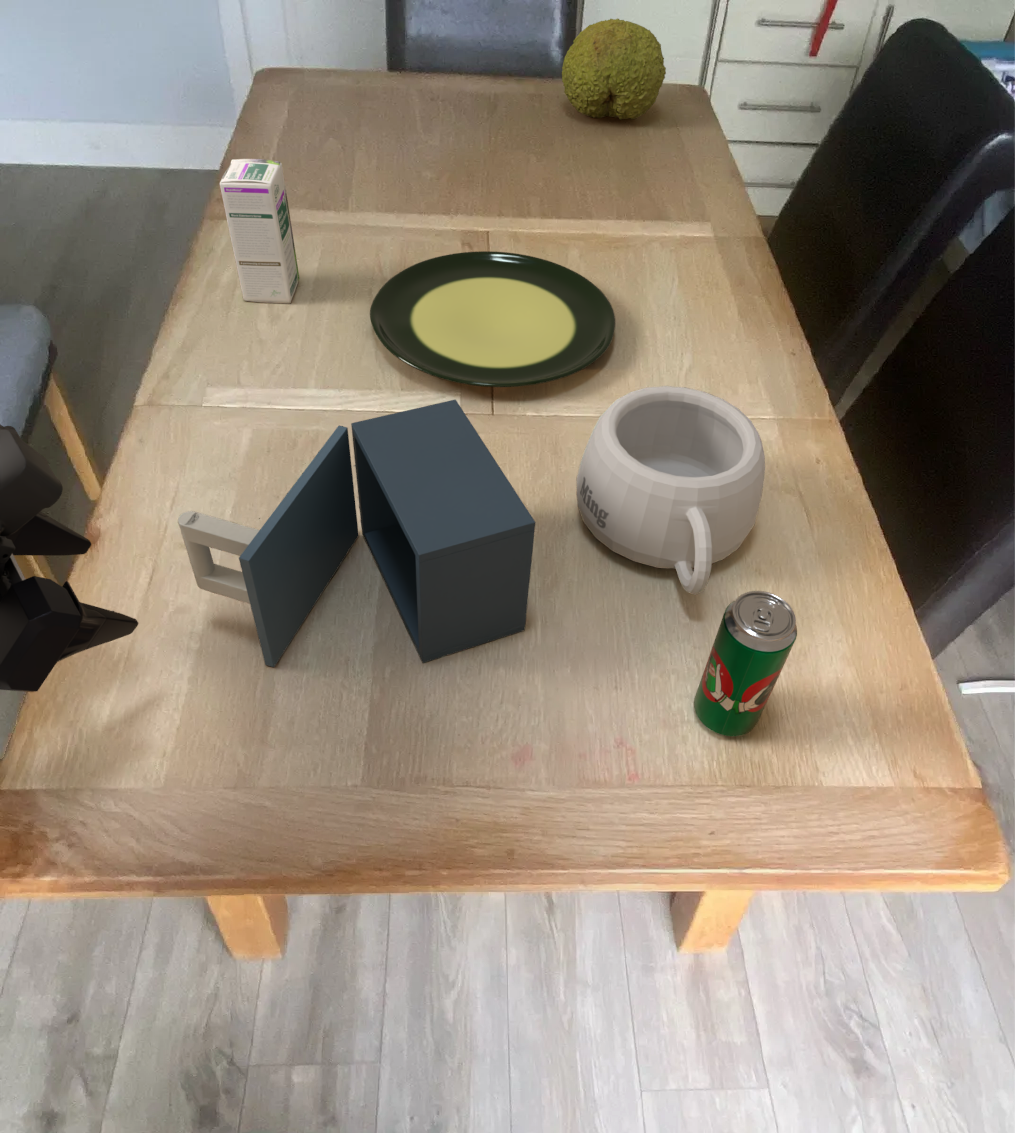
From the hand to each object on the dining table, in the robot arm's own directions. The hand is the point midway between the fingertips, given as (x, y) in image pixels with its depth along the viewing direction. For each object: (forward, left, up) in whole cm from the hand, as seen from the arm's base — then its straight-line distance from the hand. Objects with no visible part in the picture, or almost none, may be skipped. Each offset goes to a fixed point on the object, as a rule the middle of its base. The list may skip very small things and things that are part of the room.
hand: (110, 585), depth 65 cm
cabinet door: (+6, +11, -8) cm, 15 cm away
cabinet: (+18, +17, -8) cm, 26 cm away
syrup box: (-21, +50, -8) cm, 55 cm away
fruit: (-4, +122, -8) cm, 123 cm away
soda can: (+44, +15, -8) cm, 47 cm away
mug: (+34, +32, -8) cm, 47 cm away
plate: (+6, +55, -8) cm, 56 cm away
